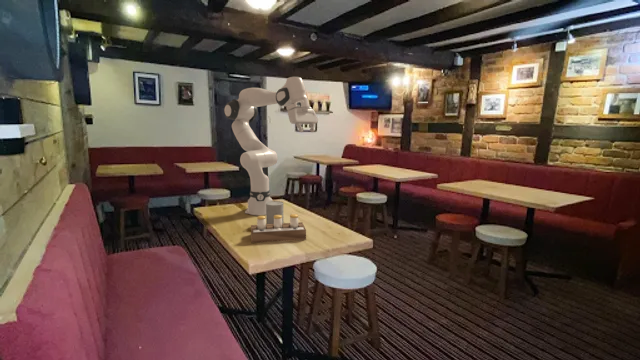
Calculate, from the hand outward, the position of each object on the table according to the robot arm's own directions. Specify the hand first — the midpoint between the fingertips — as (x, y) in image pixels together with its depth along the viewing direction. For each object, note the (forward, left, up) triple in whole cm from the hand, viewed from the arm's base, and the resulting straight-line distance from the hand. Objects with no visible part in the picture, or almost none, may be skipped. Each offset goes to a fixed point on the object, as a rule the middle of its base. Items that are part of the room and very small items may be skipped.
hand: (307, 131), depth 176 cm
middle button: (+16, -17, -48) cm, 54 cm away
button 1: (+16, -25, -48) cm, 57 cm away
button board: (+16, -17, -51) cm, 56 cm away
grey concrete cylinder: (-4, -17, -51) cm, 54 cm away
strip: (+20, -17, -46) cm, 53 cm away
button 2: (+16, -9, -48) cm, 52 cm away
